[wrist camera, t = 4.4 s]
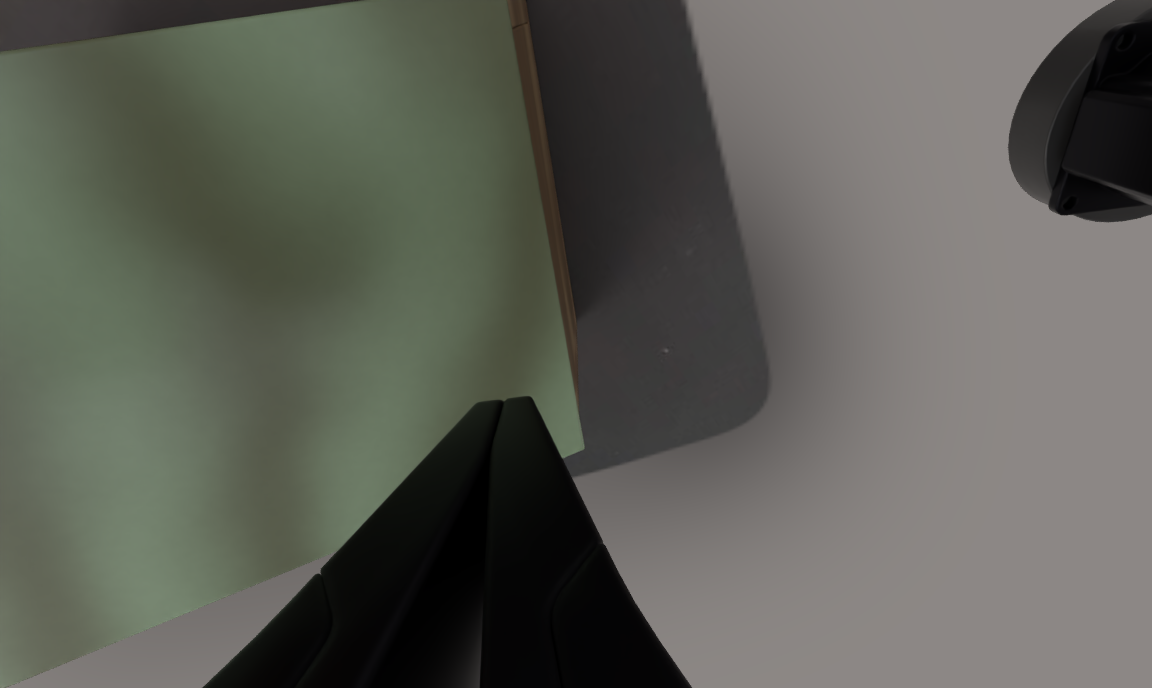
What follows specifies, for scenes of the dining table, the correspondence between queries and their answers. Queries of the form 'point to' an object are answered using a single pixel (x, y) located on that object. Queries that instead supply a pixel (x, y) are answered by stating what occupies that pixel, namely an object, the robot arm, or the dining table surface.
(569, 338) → the keepsake box
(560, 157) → the dining table surface
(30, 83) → the box lid
